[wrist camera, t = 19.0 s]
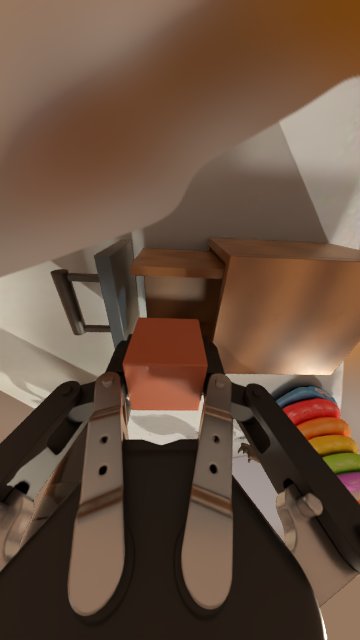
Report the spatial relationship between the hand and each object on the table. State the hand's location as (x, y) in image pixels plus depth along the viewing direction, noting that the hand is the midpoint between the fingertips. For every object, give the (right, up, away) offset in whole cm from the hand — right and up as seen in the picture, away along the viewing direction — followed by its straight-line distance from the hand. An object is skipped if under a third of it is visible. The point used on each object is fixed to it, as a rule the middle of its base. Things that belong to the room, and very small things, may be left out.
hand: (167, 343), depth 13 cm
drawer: (-2, +6, +9) cm, 11 cm away
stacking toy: (+27, -17, +26) cm, 41 cm away
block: (0, 0, 0) cm, 0 cm away
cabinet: (+11, +6, +10) cm, 16 cm away
